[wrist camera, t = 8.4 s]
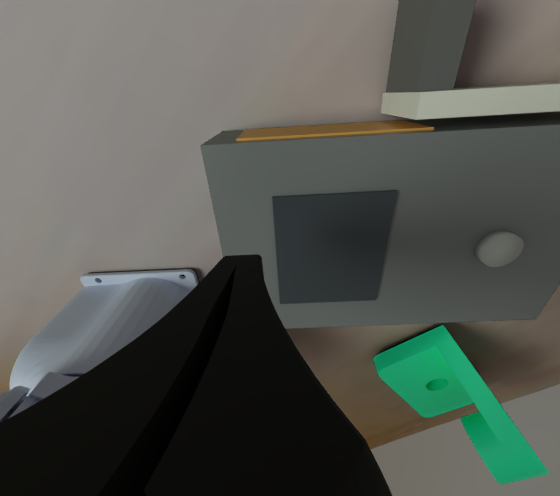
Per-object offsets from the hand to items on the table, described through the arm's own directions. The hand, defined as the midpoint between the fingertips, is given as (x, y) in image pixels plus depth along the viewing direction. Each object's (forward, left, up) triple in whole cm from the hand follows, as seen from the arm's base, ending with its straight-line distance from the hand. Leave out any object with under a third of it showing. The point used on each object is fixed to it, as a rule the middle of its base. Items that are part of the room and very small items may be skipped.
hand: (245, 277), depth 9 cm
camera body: (+8, -2, -9) cm, 13 cm away
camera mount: (+16, -20, -10) cm, 28 cm away
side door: (+12, +7, -9) cm, 17 cm away
